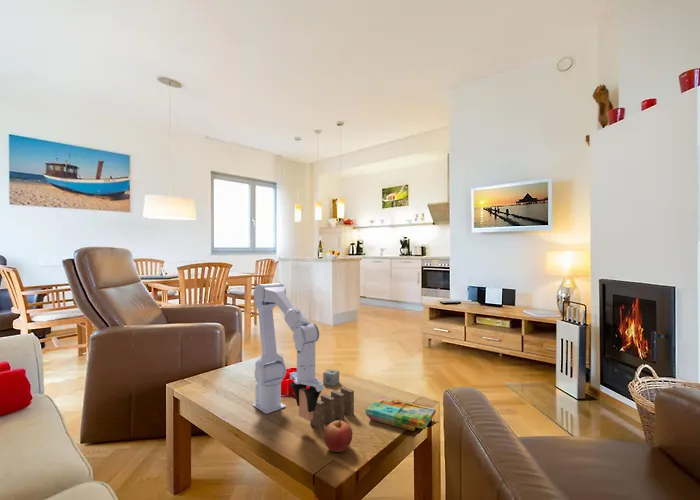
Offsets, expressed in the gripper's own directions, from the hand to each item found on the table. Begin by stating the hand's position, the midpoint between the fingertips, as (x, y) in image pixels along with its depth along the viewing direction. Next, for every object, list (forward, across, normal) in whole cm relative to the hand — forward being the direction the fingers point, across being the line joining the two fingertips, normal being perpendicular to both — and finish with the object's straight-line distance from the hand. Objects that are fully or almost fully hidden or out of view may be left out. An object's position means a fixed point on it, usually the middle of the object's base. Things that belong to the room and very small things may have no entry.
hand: (306, 408), depth 106 cm
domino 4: (+7, 0, +13) cm, 15 cm away
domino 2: (+7, 0, +4) cm, 8 cm away
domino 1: (+3, 0, 0) cm, 3 cm away
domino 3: (+7, 0, +9) cm, 11 cm away
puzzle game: (+8, +16, +27) cm, 32 cm away
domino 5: (+7, 0, +18) cm, 19 cm away
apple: (+7, +14, +1) cm, 16 cm away
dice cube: (+7, -24, +31) cm, 40 cm away
